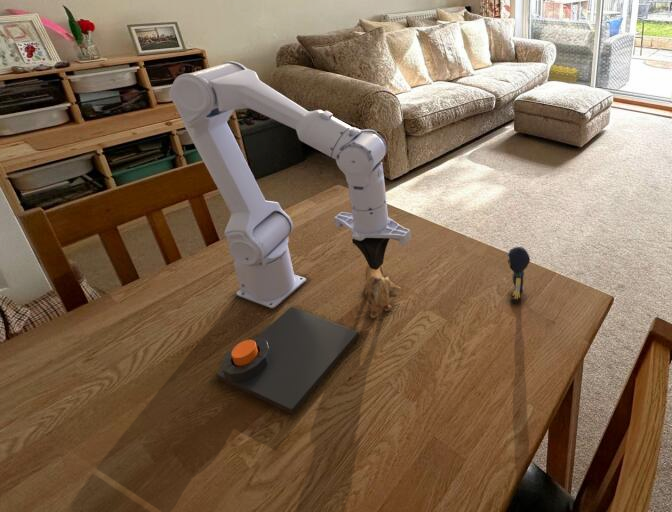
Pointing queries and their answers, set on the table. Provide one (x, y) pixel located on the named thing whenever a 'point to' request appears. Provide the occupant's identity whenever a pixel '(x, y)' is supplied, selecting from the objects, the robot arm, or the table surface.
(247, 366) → the scale
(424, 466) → the table surface
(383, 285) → the lion figurine
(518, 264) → the character figure
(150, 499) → the table surface
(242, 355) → the button
